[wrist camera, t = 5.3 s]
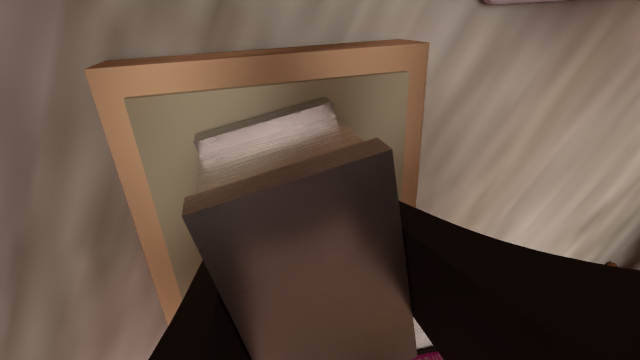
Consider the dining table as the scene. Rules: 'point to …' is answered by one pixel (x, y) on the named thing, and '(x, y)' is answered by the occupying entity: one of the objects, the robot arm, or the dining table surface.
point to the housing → (304, 236)
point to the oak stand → (237, 105)
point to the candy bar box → (428, 355)
